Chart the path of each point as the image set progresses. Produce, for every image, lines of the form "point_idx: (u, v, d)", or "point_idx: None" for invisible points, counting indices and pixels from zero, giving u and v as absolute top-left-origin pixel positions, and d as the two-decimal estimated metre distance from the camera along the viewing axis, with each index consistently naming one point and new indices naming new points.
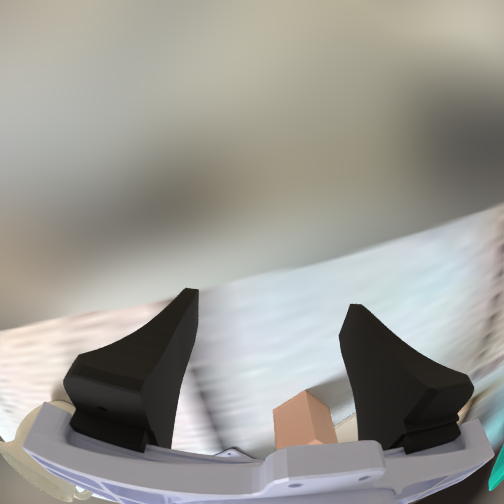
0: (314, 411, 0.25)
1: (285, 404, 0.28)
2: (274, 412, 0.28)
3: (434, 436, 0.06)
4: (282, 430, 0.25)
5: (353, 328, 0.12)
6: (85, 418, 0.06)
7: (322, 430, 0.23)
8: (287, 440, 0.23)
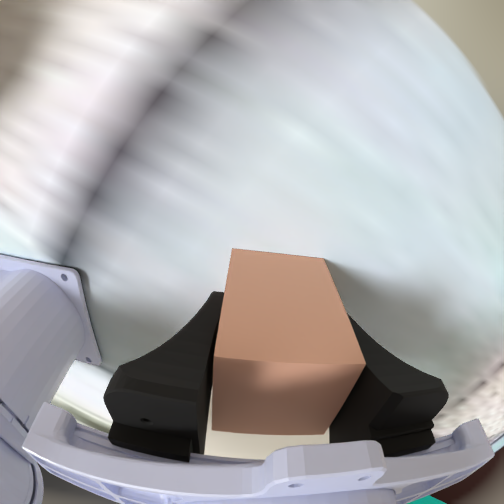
0: None
1: (269, 255, 0.14)
2: (235, 254, 0.13)
3: (404, 444, 0.06)
4: (253, 295, 0.10)
5: None
6: (125, 430, 0.06)
7: None
8: (267, 325, 0.09)
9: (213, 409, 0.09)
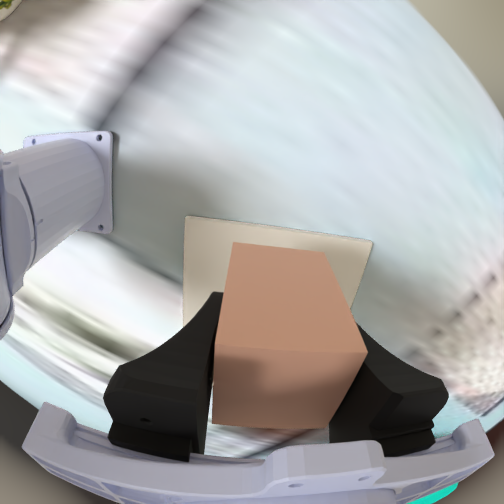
0: None
1: (270, 249, 0.14)
2: (236, 247, 0.13)
3: (405, 443, 0.06)
4: (254, 286, 0.11)
5: None
6: (124, 430, 0.06)
7: None
8: (268, 314, 0.09)
9: (214, 400, 0.09)
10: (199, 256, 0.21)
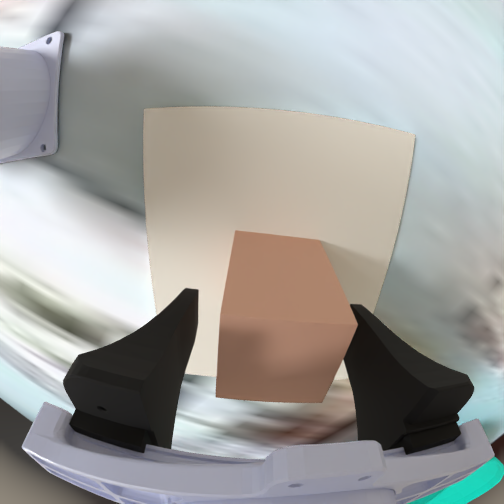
0: None
1: (269, 236, 0.15)
2: (238, 234, 0.15)
3: (434, 436, 0.06)
4: (254, 267, 0.12)
5: None
6: (85, 418, 0.06)
7: None
8: (267, 290, 0.10)
9: (218, 372, 0.10)
10: (165, 163, 0.13)
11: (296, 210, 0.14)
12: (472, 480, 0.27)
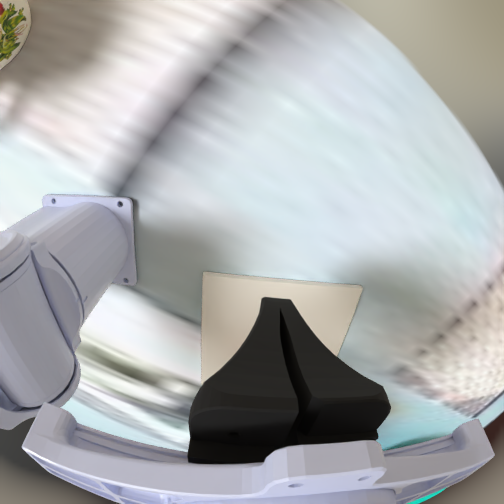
0: None
1: None
2: None
3: None
4: None
5: None
6: (205, 446, 0.06)
7: None
8: None
9: None
10: (215, 304, 0.25)
11: None
12: None
